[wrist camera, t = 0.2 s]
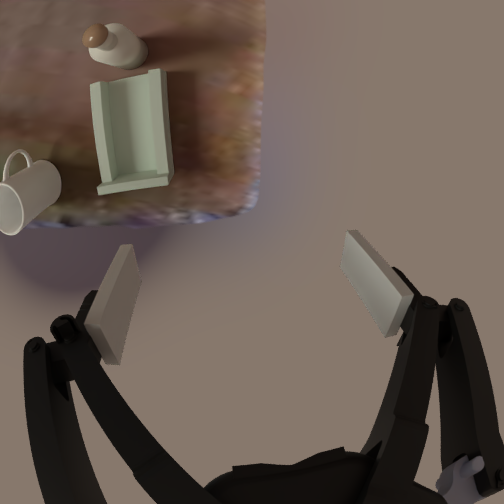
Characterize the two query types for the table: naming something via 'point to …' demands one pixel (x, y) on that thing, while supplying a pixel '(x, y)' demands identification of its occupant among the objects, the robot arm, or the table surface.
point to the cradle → (132, 132)
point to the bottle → (115, 46)
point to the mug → (27, 193)
